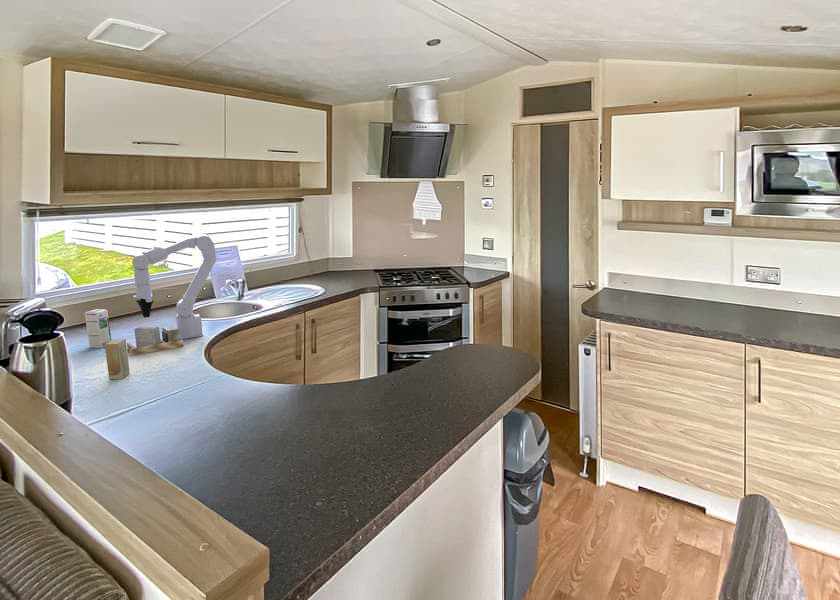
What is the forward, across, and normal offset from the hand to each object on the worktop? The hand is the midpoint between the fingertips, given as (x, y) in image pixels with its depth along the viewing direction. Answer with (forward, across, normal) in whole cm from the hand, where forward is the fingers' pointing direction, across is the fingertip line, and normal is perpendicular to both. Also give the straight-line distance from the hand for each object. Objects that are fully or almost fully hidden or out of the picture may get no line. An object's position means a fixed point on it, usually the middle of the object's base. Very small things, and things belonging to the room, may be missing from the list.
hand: (146, 317), depth 230 cm
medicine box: (+10, +14, -3) cm, 17 cm away
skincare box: (+10, +44, -20) cm, 49 cm away
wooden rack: (+10, +14, -2) cm, 17 cm away
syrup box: (+10, -4, -17) cm, 20 cm away
